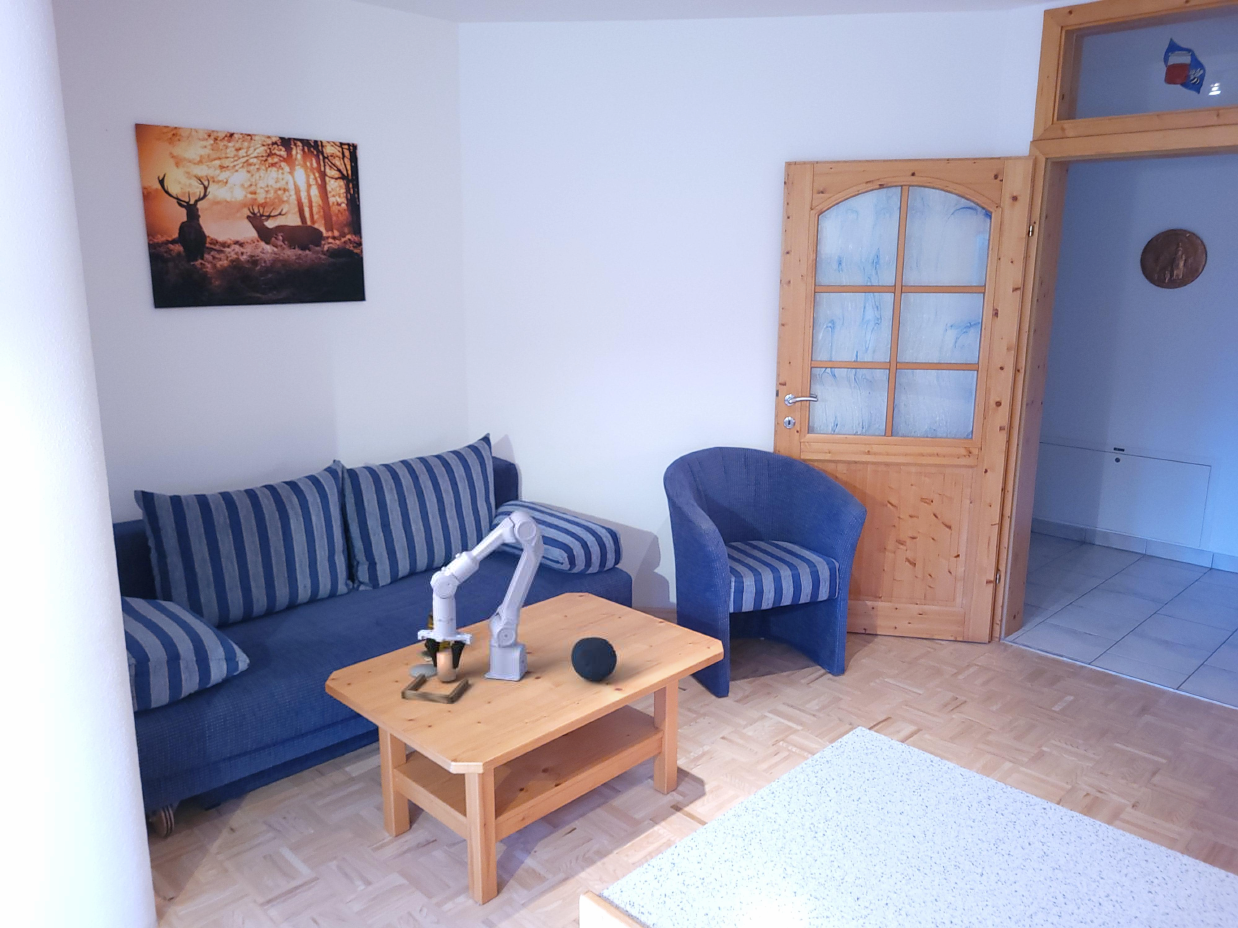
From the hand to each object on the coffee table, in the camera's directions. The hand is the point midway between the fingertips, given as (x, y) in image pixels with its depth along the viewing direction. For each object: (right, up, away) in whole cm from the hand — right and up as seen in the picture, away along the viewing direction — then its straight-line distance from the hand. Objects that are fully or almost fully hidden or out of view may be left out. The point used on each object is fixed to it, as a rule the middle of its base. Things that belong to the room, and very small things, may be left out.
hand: (446, 666), depth 244 cm
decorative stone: (+38, -4, +3) cm, 39 cm away
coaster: (-7, -3, +6) cm, 10 cm away
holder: (-1, -5, -5) cm, 7 cm away
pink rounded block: (0, -3, +1) cm, 3 cm away
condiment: (-6, -1, +18) cm, 19 cm away
